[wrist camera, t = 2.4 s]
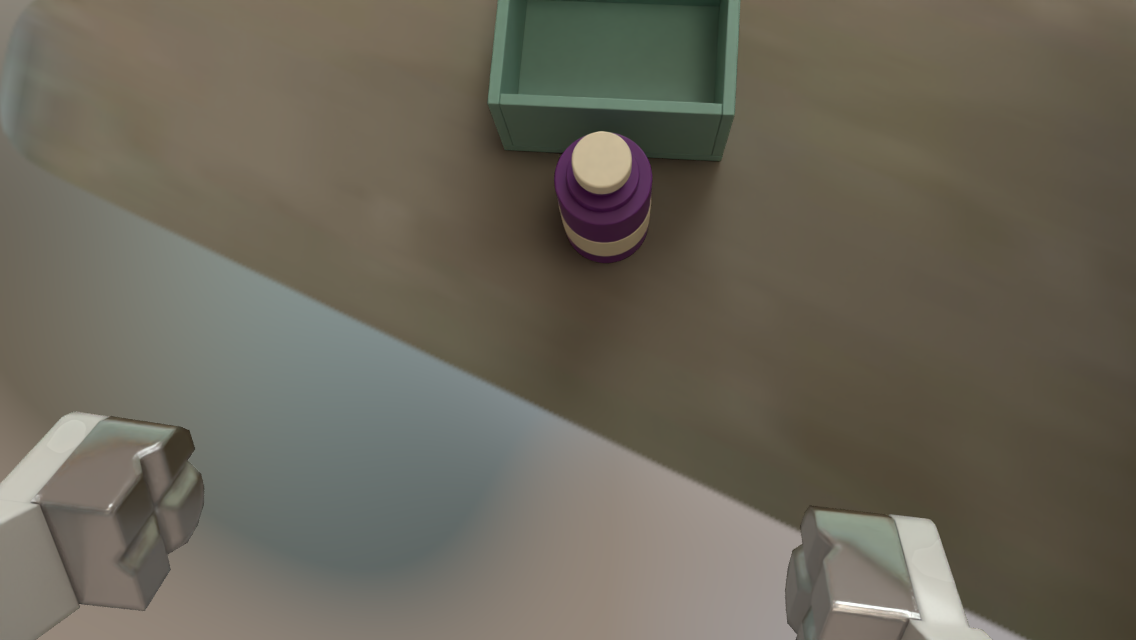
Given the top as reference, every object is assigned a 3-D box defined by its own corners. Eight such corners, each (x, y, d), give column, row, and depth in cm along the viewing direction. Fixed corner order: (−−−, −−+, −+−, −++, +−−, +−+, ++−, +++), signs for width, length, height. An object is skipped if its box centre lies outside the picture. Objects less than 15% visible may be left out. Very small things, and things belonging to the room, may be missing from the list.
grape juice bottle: (651, 184, 39) (658, 111, 32) (646, 266, 39) (651, 212, 31) (567, 180, 40) (553, 106, 32) (560, 261, 39) (544, 206, 31)
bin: (729, 4, 41) (743, -62, 36) (721, 161, 39) (734, 115, 34) (519, -4, 42) (504, -69, 36) (504, 150, 40) (487, 103, 35)
